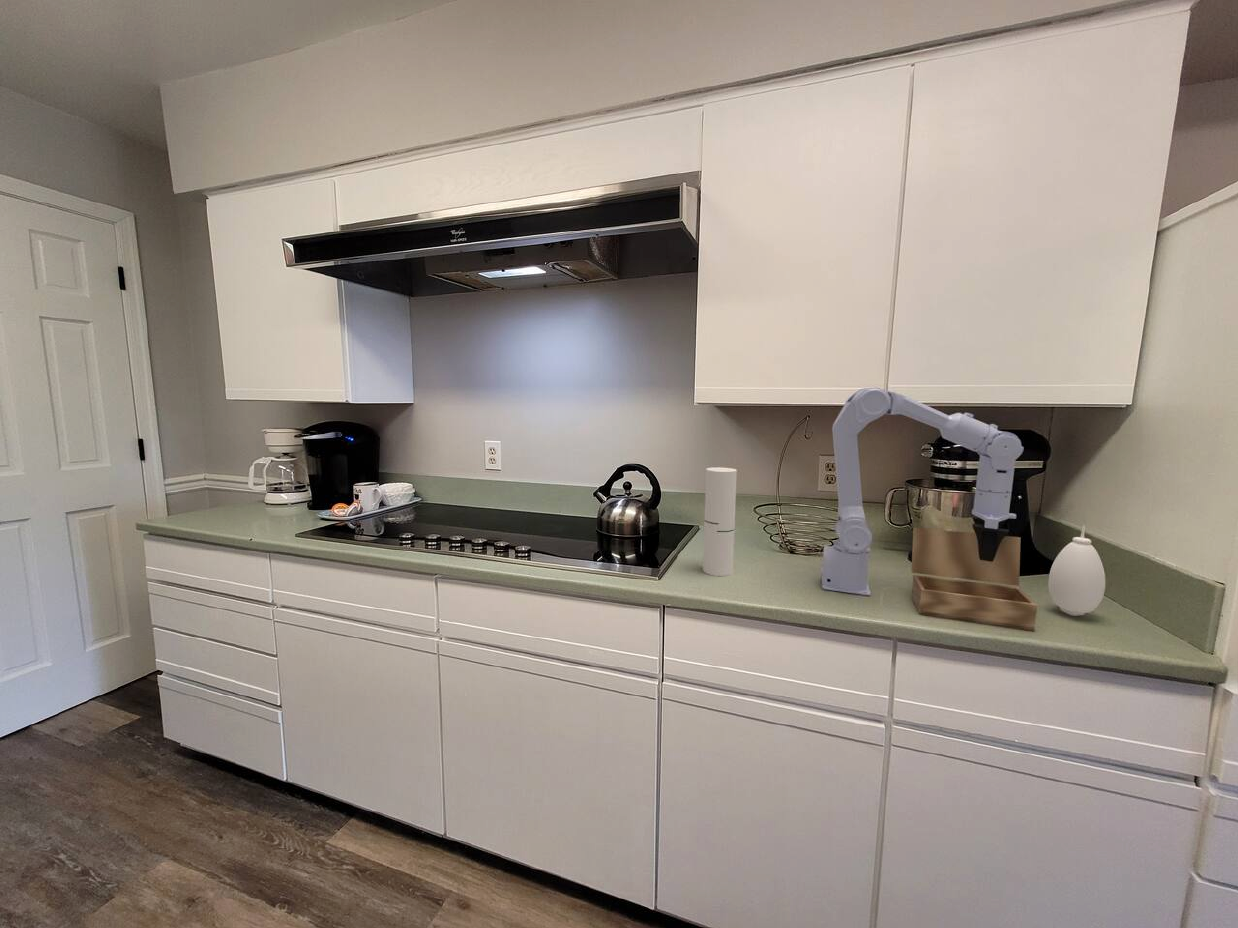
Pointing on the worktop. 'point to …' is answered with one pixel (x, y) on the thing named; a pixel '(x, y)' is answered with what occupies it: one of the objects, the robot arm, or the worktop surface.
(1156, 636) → the worktop surface
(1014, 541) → the lid
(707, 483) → the cylindrical container
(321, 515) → the worktop surface
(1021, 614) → the box
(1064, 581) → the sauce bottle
